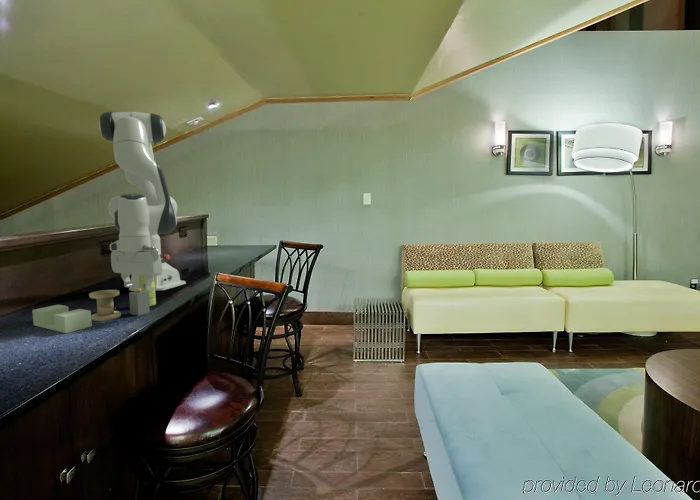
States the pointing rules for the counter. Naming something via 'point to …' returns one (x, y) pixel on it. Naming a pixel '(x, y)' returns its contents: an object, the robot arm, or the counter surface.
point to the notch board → (62, 318)
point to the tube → (151, 291)
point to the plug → (139, 302)
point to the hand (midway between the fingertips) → (137, 288)
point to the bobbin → (105, 305)
